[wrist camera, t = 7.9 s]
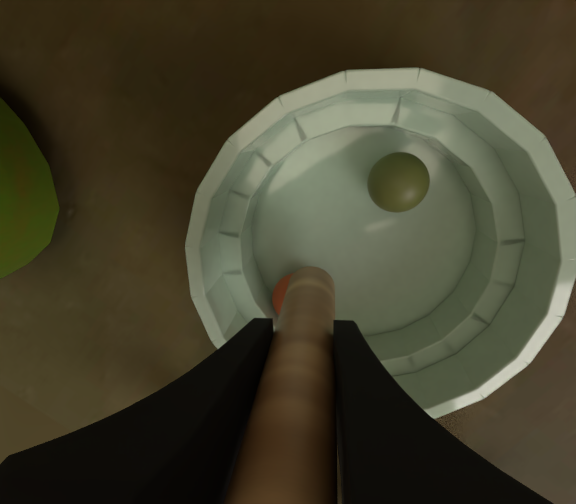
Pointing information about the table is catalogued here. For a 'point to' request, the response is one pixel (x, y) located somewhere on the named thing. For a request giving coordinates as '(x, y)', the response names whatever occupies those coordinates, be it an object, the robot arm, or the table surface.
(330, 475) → the stir stick
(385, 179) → the bead olive
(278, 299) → the bead terracotta
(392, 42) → the table surface
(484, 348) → the bowl
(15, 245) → the apple
